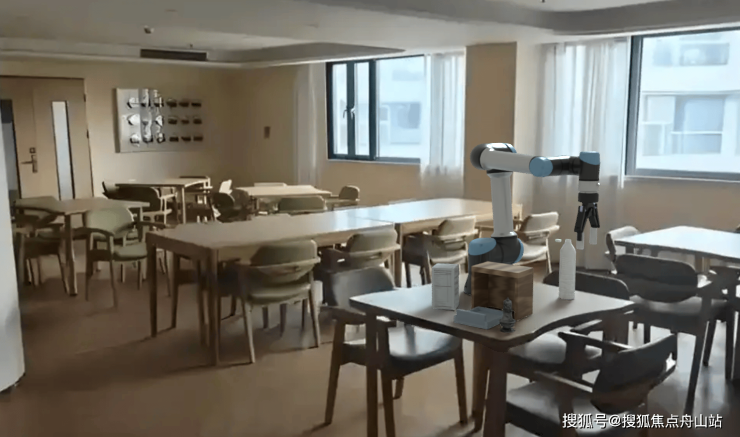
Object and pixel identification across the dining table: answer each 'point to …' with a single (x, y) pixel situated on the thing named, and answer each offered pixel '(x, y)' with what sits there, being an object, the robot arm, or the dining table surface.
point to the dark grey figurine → (507, 317)
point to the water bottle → (567, 270)
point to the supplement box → (445, 286)
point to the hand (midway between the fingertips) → (586, 246)
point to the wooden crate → (503, 287)
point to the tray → (479, 317)
